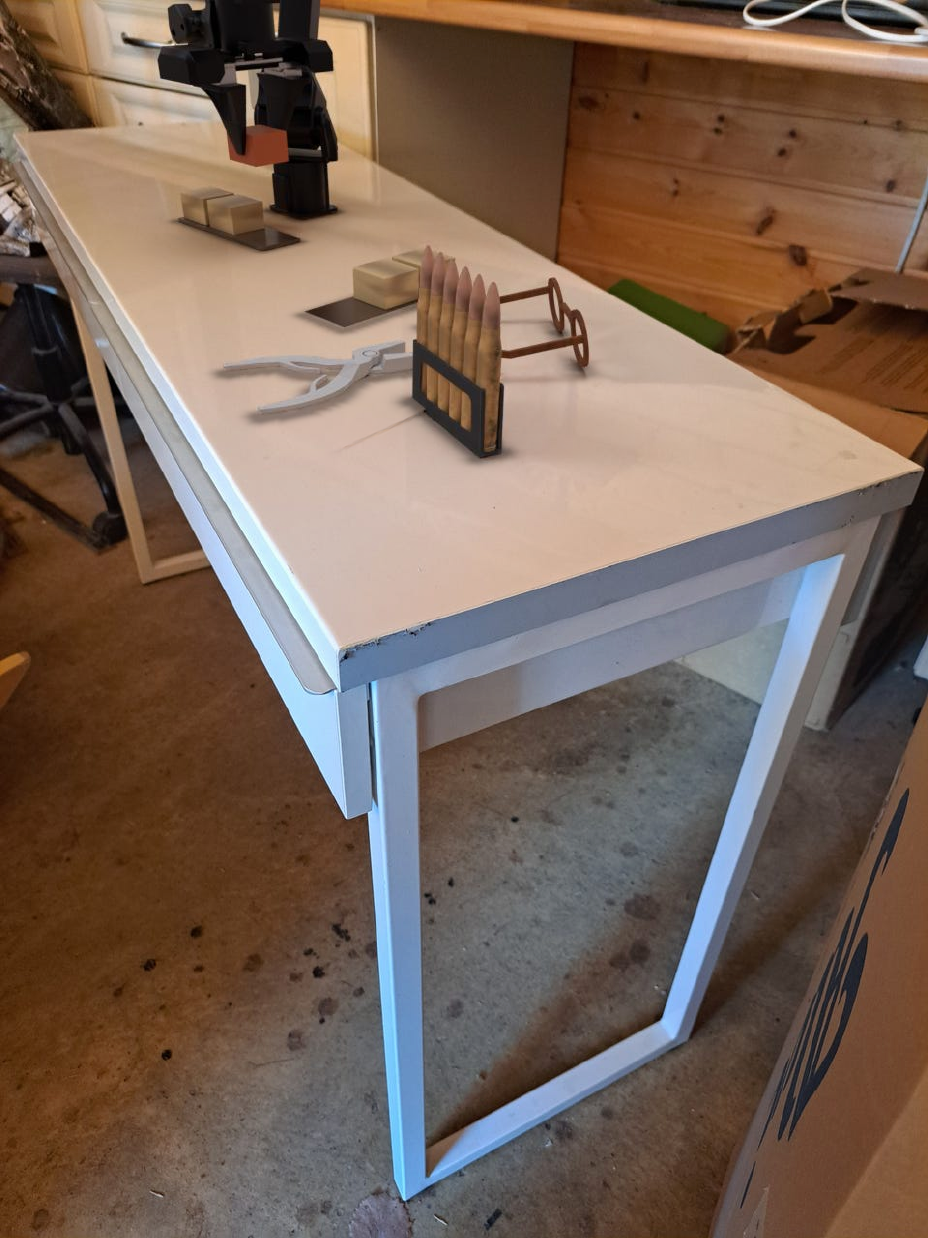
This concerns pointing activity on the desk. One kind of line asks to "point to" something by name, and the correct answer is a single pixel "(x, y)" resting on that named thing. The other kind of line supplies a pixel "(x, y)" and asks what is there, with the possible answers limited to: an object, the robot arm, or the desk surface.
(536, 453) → the desk surface
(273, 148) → the red block
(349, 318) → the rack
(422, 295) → the ammunition clip
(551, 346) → the glasses
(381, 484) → the desk surface
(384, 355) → the pliers
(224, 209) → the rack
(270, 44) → the robot arm
